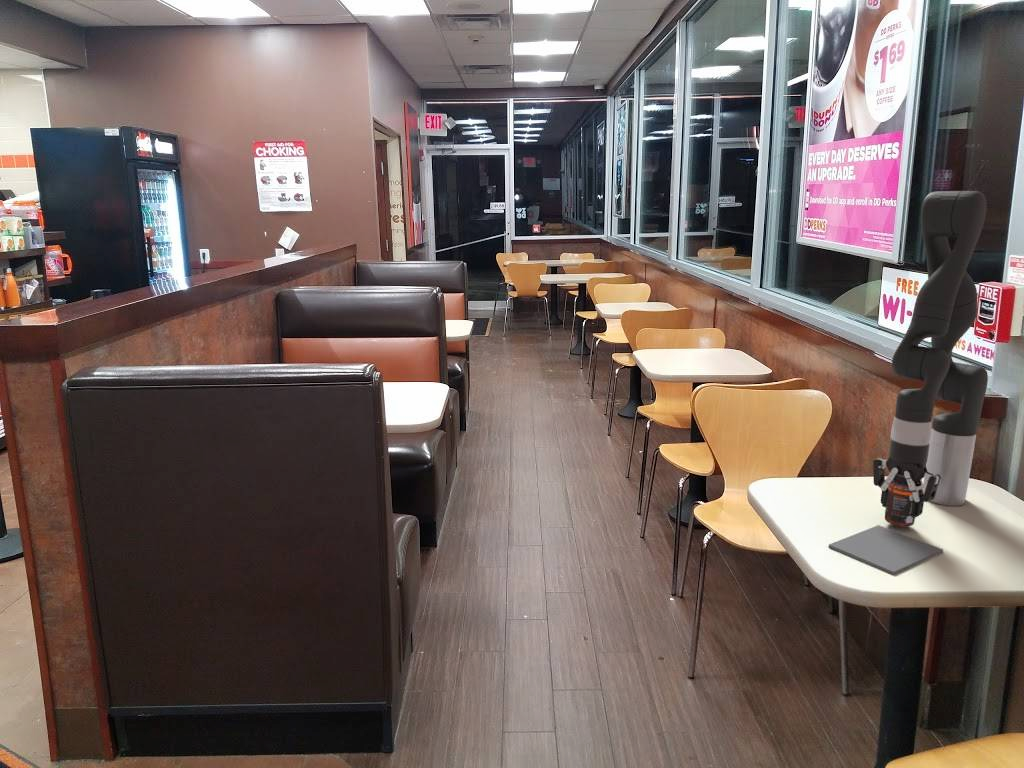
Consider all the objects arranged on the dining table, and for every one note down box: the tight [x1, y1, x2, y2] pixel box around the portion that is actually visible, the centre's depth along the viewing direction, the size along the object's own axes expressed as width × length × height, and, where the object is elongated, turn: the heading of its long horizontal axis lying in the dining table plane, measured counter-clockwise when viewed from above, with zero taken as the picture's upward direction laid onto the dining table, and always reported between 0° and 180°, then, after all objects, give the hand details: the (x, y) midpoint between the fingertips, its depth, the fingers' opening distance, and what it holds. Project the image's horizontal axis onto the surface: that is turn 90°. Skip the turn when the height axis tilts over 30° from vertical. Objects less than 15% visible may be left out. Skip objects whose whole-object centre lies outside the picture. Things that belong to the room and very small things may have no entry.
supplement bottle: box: [884, 474, 916, 528], centre depth 166 cm, size 6×6×11 cm
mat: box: [828, 524, 944, 576], centre depth 156 cm, size 18×14×1 cm
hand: (900, 511), depth 167 cm, fingers closed on supplement bottle, 6 cm apart
